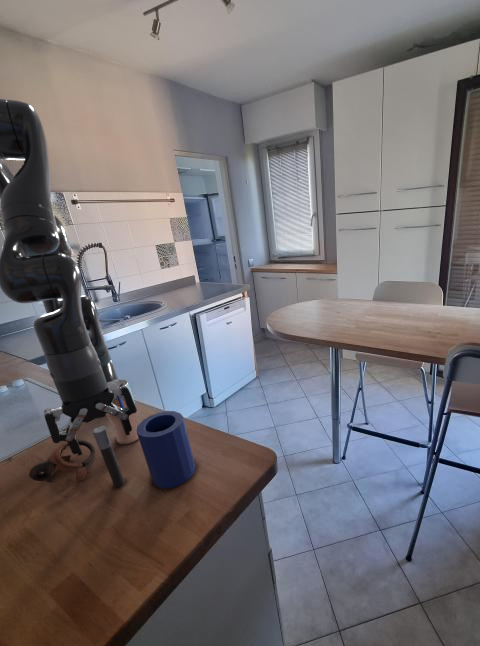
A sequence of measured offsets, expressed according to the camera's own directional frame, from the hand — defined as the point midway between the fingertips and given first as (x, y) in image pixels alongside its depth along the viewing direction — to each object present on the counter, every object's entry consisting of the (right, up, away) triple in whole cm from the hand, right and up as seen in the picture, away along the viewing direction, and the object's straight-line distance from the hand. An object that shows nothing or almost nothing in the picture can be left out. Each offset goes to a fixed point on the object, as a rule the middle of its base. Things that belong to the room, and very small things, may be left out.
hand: (104, 443), depth 66 cm
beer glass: (-5, -4, +19) cm, 20 cm away
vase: (+12, -8, +6) cm, 15 cm away
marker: (+1, -10, +4) cm, 11 cm away
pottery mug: (-12, -9, +8) cm, 18 cm away
